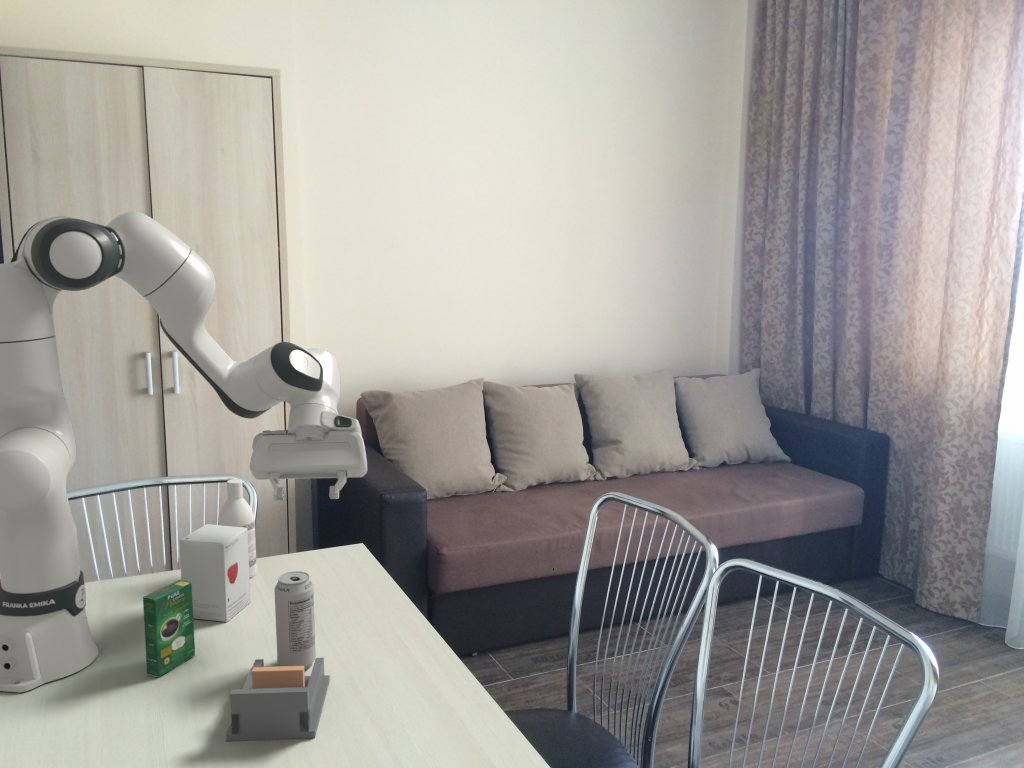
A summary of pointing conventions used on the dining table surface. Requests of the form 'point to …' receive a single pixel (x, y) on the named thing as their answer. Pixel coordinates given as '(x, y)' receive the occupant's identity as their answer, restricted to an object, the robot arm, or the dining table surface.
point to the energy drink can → (295, 620)
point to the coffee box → (168, 627)
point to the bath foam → (240, 518)
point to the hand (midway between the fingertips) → (306, 498)
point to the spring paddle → (278, 677)
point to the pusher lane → (278, 708)
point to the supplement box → (216, 570)
